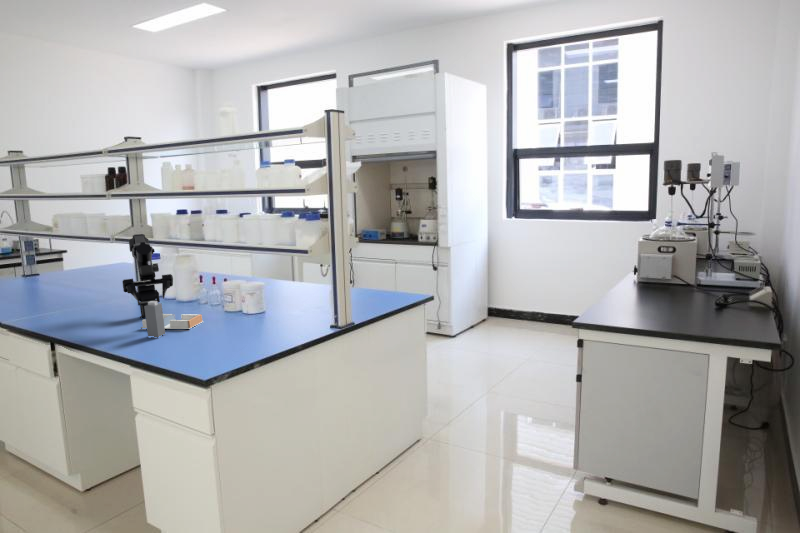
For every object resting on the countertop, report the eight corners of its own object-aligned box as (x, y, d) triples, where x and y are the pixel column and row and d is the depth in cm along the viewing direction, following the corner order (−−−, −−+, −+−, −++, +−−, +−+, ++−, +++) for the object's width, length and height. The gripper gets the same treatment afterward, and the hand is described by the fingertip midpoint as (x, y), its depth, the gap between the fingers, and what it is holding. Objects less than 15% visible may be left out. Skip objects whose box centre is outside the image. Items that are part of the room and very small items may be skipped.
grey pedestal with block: (148, 338, 209) (143, 303, 206) (155, 334, 213) (150, 300, 211) (158, 338, 208) (154, 303, 206) (165, 334, 213) (161, 300, 210)
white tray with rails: (141, 329, 221) (139, 320, 221) (157, 321, 232) (156, 313, 231) (189, 330, 218) (188, 321, 217) (203, 322, 228) (202, 314, 227)
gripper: (119, 260, 212) (124, 292, 205) (169, 255, 221) (176, 285, 214) (121, 276, 220) (126, 307, 213) (169, 270, 229) (175, 300, 222)
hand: (151, 299), depth 215 cm, fingers open, 9 cm apart
